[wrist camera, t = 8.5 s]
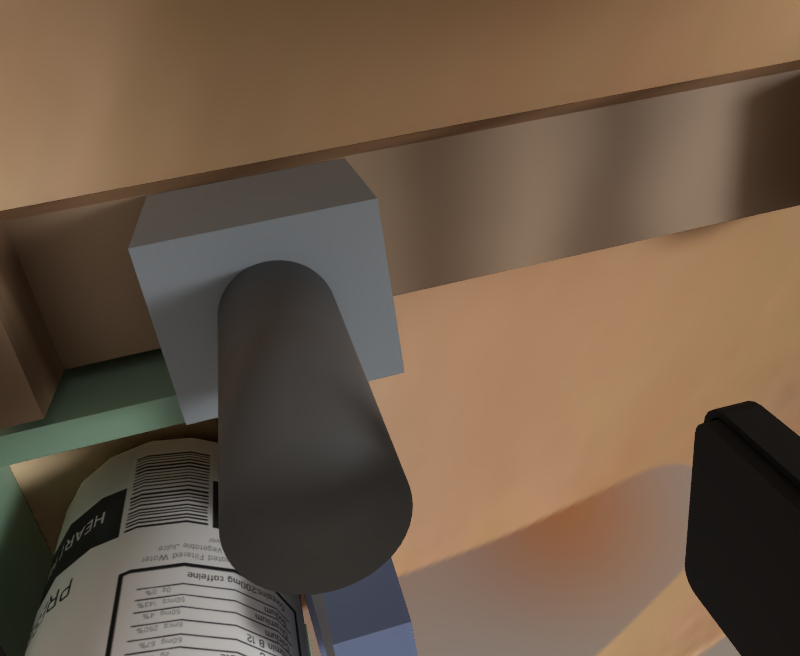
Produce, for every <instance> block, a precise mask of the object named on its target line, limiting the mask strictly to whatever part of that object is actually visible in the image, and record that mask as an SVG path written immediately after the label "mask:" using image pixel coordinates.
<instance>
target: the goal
mask: <svg viewBox="0 0 800 656" xmlns="http://www.w3.org/2000/svg"><path fill="white" fill-rule="evenodd" d="M181 423H185V419H184V416H183V413H182V410H181V407H180V404H179V401H178V398H177V395H176V392H175V389H174V386H173V383H172V380H171V377H170V374H169V371H168V368H167V365H166V362H165V359H164V356H163V353H162V350H161V348H159V349H154V350H150V351H145V352H141V353H137V354H132V355H128V356H123V357H119V358H114V359H110V360H105V361H101V362H96V363H92V364H87V365H83V366H78V367H74V368H70V369H65V370H64V372H63V374H62V377H61V379H60V381H59V384H58V386H57V389H56V391H55V394H54V396H53V398H52V401H51V403H50V406H49V408H48V411H47V413H46V415H45V418H44V419H41V420H36V421H32V422H28V423H24V424H19V425H15V426H11V427H6V428H2V429H0V646H1V648H2V649H3V651H4V653H5V654H6V656H25V652H26V649H27V646H28V642H29V639H30V635H31V632H32V628H33V625H34V622H35V618H36V615H37V611H38V608H39V604H40V601H41V598H42V594H43V591H44V587H45V584H46V580H47V577H48V574H49V570H50V567H51V563H52V560H53V556H52V554H51V552H50V550H49V548H48V545H47V543H46V541H45V539H44V537H43V535H42V533H41V531H40V529H39V527H38V525H37V523H36V521H35V519H34V516H33V514H32V512H31V510H30V508H29V506H28V504H27V502H26V500H25V498H24V496H23V494H22V492H21V490H20V488H19V485H18V483H17V481H16V479H15V477H14V475H13V473H12V471H11V469H10V467H9V465H11V464H15V463H19V462H23V461H28V460H32V459H36V458H40V457H44V456H48V455H52V454H57V453H61V452H65V451H69V450H73V449H77V448H82V447H86V446H90V445H94V444H98V443H102V442H107V441H111V440H115V439H119V438H123V437H127V436H131V435H136V434H140V433H144V432H148V431H152V430H156V429H161V428H165V427H169V426H173V425H177V424H181ZM304 625H305V632H306V639H307V646H308V653H309V656H313V653H312V647H311V640H310V636H309V632H308V629H307V626H306V624H304Z"/></svg>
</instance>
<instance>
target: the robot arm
mask: <svg viewBox="0 0 800 656" xmlns="http://www.w3.org/2000/svg"><path fill="white" fill-rule="evenodd" d="M688 519H689V520H688V531H687V545H686V557H685V571H686V576H687V579H688V582H689V584H690V586H691V588H692V590H693V591H694V593H695V595H696V596H697V597H698V599H699V600H700V601H701V603H702V604H703V605H704V607H705V608H706V609H707V611H708V612H709V613H710V615H711V616H712V617H713V619H714V620H715V621H716V623H717V624H718V625H719V627H720V628H721V629H722V631H723V632H724V633H725V635H726V636H727V637H728V638H729V640H730V641H731V643H732V644H733V645H734V647H735V648H736V649H737V651H738V652H739V653H740V655H741V656H800V436H798V435H797V434H796V433H795V432H793V431H792V430H791V429H790V428H788V427H787V426H786V425H785V424H784V423H782V422H781V421H780V420H779V419H777V418H776V417H775V416H774V415H772V414H771V413H770V412H769V411H767V410H766V409H765V408H764V407H762V406H761V405H759V404H758V403H756V402H753V401H746V402H742V403H738V404H734V405H730V406H726V407H722V408H718V409H714V410H711V411H709V412H708V413H707V415H706V416H705V420H704V423H702V424H700V425H698V427H697V428H696V432H695V441H694V454H693V467H692V481H691V493H690V505H689V518H688ZM0 656H6V654H5V653H4V651H3V649H2V648H1V646H0Z"/></svg>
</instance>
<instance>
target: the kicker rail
mask: <svg viewBox="0 0 800 656" xmlns="http://www.w3.org/2000/svg"><path fill="white" fill-rule="evenodd" d="M342 158H345V159H346V160H347V162H348V163H349V164H350V165H351V166H352V168H353V169H354V170H355V171H356V173H357V174H358V175H359V176H360V177H361V179H362V180H363V181H364V182H365V184H366V185H367V186H368V187H369V189H370V190H371V191H372V192H373V193H374V195H375V196H376V197H377V198H378V205H379V211H380V218H381V224H382V231H383V237H384V244H385V250H386V257H387V263H388V269H389V276H390V282H391V289H392V295H393V296H396V295H400V294H405V293H409V292H414V291H418V290H422V289H427V288H431V287H436V286H440V285H445V284H449V283H454V282H458V281H463V280H467V279H472V278H476V277H481V276H485V275H489V274H494V273H498V272H503V271H507V270H512V269H516V268H521V267H525V266H530V265H534V264H539V263H543V262H548V261H552V260H556V259H561V258H565V257H570V256H574V255H579V254H583V253H588V252H592V251H597V250H601V249H606V248H610V247H615V246H619V245H623V244H628V243H632V242H637V241H641V240H646V239H650V238H655V237H659V236H664V235H668V234H673V233H677V232H682V231H686V230H690V229H695V228H699V227H704V226H708V225H713V224H717V223H722V222H726V221H731V220H735V219H740V218H744V217H749V216H753V215H757V214H762V213H766V212H771V211H775V210H780V209H784V208H789V207H793V206H798V205H800V60H798V61H793V62H788V63H782V64H777V65H772V66H767V67H761V68H756V69H751V70H745V71H740V72H735V73H730V74H724V75H719V76H714V77H708V78H703V79H698V80H692V81H687V82H682V83H677V84H671V85H666V86H661V87H655V88H650V89H645V90H640V91H634V92H629V93H624V94H618V95H613V96H608V97H603V98H597V99H592V100H587V101H581V102H576V103H571V104H565V105H560V106H555V107H550V108H544V109H539V110H534V111H528V112H523V113H518V114H513V115H507V116H502V117H497V118H491V119H486V120H481V121H476V122H470V123H465V124H460V125H454V126H449V127H444V128H438V129H433V130H428V131H423V132H417V133H412V134H407V135H401V136H396V137H391V138H386V139H380V140H375V141H370V142H364V143H359V144H354V145H349V146H343V147H338V148H333V149H327V150H322V151H317V152H311V153H306V154H301V155H296V156H290V157H285V158H280V159H274V160H269V161H264V162H259V163H253V164H248V165H243V166H237V167H232V168H227V169H222V170H216V171H211V172H206V173H200V174H195V175H190V176H184V177H179V178H174V179H169V180H163V181H158V182H153V183H147V184H142V185H137V186H132V187H126V188H121V189H116V190H110V191H105V192H100V193H95V194H89V195H84V196H79V197H73V198H68V199H63V200H57V201H52V202H47V203H42V204H36V205H31V206H26V207H20V208H15V209H10V210H5V211H0V429H2V428H6V427H11V426H15V425H19V424H24V423H28V422H32V421H36V420H41V419H44V418H45V415H46V413H47V411H48V408H49V406H50V403H51V401H52V398H53V396H54V394H55V391H56V389H57V386H58V384H59V381H60V379H61V377H62V374H63V372H64V370H65V369H70V368H74V367H78V366H83V365H87V364H92V363H96V362H101V361H105V360H110V359H114V358H119V357H123V356H128V355H132V354H137V353H141V352H145V351H150V350H154V349H159V348H161V347H160V344H159V341H158V338H157V335H156V332H155V329H154V326H153V323H152V320H151V317H150V314H149V311H148V307H147V304H146V301H145V298H144V295H143V292H142V289H141V286H140V283H139V280H138V277H137V274H136V271H135V268H134V265H133V262H132V259H131V256H130V253H129V250H128V247H129V245H130V242H131V239H132V236H133V233H134V230H135V228H136V225H137V222H138V219H139V216H140V214H141V211H142V208H143V205H144V202H145V199H146V197H147V196H149V195H154V194H159V193H165V192H170V191H175V190H180V189H185V188H191V187H196V186H201V185H206V184H212V183H217V182H222V181H227V180H232V179H238V178H243V177H248V176H253V175H259V174H264V173H269V172H274V171H279V170H285V169H290V168H295V167H300V166H306V165H311V164H316V163H321V162H326V161H332V160H337V159H342Z"/></svg>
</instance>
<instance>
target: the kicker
mask: <svg viewBox="0 0 800 656" xmlns="http://www.w3.org/2000/svg"><path fill="white" fill-rule="evenodd" d="M128 250H129V253H130V256H131V259H132V262H133V265H134V268H135V271H136V274H137V277H138V280H139V283H140V286H141V289H142V292H143V295H144V298H145V301H146V304H147V307H148V311H149V314H150V317H151V320H152V323H153V326H154V329H155V332H156V335H157V338H158V341H159V344H160V347H161V350H162V353H163V356H164V359H165V362H166V365H167V368H168V371H169V374H170V377H171V380H172V383H173V386H174V389H175V392H176V395H177V398H178V401H179V404H180V407H181V410H182V413H183V416H184V419H185V422H186V425H189V424H193V423H197V422H201V421H205V420H209V419H214V418H218V502H219V538H220V542H221V546H222V549H223V551H224V554H225V556H226V558H227V559H228V561H229V562H230V564H231V565H232V566H233V567H234V568H235V569H236V571H237V572H238V573H239V574H241V575H242V576H243V577H244V578H246V579H247V580H249V581H250V582H252V583H254V584H255V585H258V586H260V587H262V588H264V589H267V590H271V591H274V592H278V593H283V594H290V595H305V598H306V602H307V606H308V609H309V613H310V616H311V620H312V624H313V627H314V631H315V634H316V638H317V642H318V646H319V649H320V653H321V656H417V650H416V645H415V639H414V634H413V629H412V623H411V620H410V616H409V613H408V610H407V607H406V604H405V600H404V597H403V594H402V591H401V587H400V584H399V581H398V578H397V575H396V572H395V568H394V565H393V562H392V559H391V556H392V555H393V554H394V553H395V552H396V550H397V549H398V547H399V546H400V545H401V543H402V541H403V539H404V538H405V536H406V533H407V531H408V528H409V526H410V522H411V517H412V509H413V503H412V494H411V490H410V486H409V484H408V481H407V479H406V476H405V474H404V471H403V469H402V466H401V464H400V461H399V459H398V456H397V454H396V451H395V449H394V446H393V444H392V441H391V439H390V436H389V433H388V431H387V428H386V426H385V423H384V421H383V418H382V416H381V413H380V411H379V408H378V406H377V403H376V401H375V398H374V396H373V393H372V391H371V388H370V386H369V383H368V381H371V380H375V379H379V378H383V377H388V376H392V375H396V374H400V373H404V366H403V360H402V353H401V347H400V341H399V334H398V328H397V321H396V315H395V308H394V302H393V295H392V289H391V282H390V276H389V269H388V263H387V257H386V250H385V244H384V237H383V231H382V224H381V218H380V211H379V205H378V198H377V197H376V196H375V195H374V193H373V192H372V191H371V190H370V189H369V187H368V186H367V185H366V184H365V182H364V181H363V180H362V179H361V177H360V176H359V175H358V174H357V173H356V171H355V170H354V169H353V168H352V166H351V165H350V164H349V163H348V162H347V160H346V159H345V158H342V159H337V160H332V161H326V162H321V163H316V164H311V165H306V166H300V167H295V168H290V169H285V170H279V171H274V172H269V173H264V174H259V175H253V176H248V177H243V178H238V179H232V180H227V181H222V182H217V183H212V184H206V185H201V186H196V187H191V188H185V189H180V190H175V191H170V192H165V193H159V194H154V195H149V196H147V197H146V199H145V202H144V205H143V208H142V211H141V214H140V216H139V219H138V222H137V225H136V228H135V230H134V233H133V236H132V239H131V242H130V245H129V247H128Z"/></svg>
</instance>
